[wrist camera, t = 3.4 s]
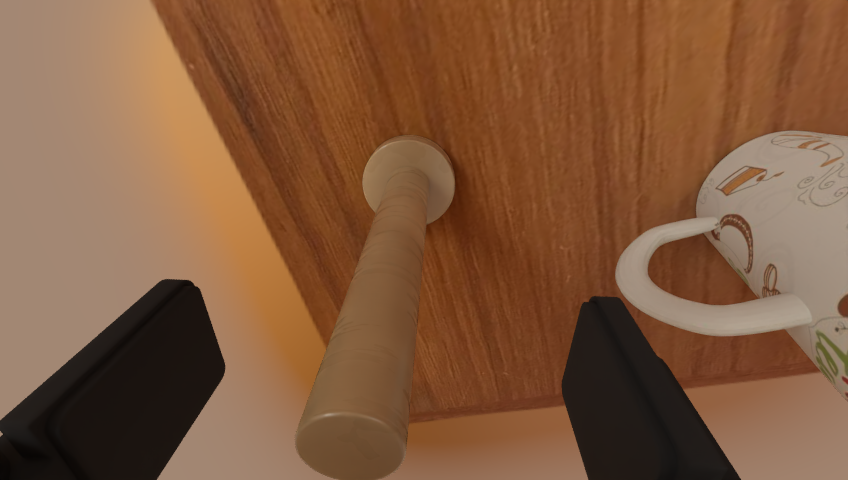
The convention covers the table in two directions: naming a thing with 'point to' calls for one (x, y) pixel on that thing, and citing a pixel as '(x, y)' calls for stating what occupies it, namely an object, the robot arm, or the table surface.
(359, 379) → the wooden peg with base
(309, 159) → the table surface
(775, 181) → the mug
